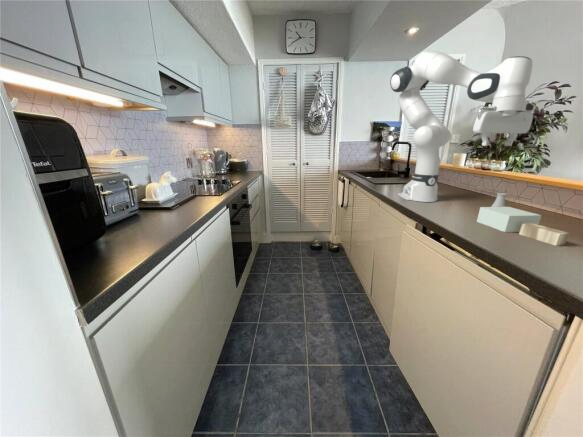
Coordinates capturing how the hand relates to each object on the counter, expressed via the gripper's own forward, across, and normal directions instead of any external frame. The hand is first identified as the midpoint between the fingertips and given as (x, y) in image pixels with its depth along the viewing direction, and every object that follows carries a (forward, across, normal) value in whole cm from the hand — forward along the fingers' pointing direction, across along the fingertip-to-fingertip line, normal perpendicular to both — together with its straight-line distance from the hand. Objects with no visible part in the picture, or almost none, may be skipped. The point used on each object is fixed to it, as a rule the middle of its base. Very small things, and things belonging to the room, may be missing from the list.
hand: (496, 145), depth 91 cm
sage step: (+29, 0, -12) cm, 31 cm away
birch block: (+27, -1, -20) cm, 34 cm away
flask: (+29, +9, +1) cm, 31 cm away
